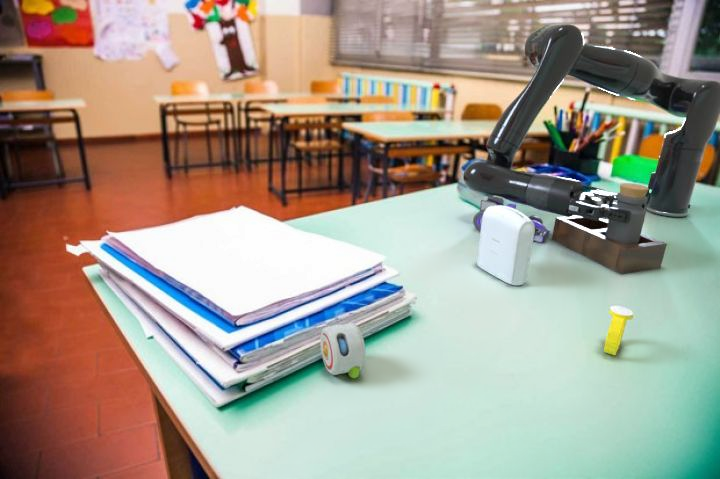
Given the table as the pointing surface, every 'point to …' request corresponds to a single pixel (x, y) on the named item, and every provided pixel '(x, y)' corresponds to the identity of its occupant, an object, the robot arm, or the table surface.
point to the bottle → (631, 201)
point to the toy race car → (499, 201)
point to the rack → (607, 245)
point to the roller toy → (343, 349)
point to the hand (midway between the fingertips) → (637, 213)
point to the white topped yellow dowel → (616, 328)
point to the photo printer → (505, 244)
